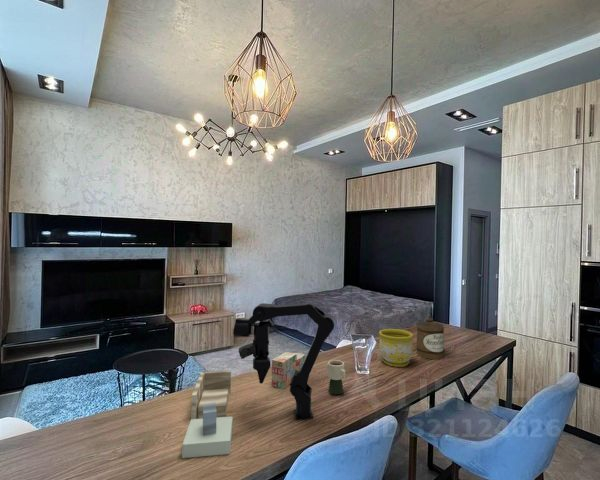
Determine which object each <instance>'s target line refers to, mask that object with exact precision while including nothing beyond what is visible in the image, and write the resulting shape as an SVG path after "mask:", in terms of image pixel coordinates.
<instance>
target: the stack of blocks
mask: <svg viewBox="0 0 600 480" xmlns="http://www.w3.org/2000/svg"><path fill="white" fill-rule="evenodd" d="M305 358H306V354H305V353H304V354H303V353H299V352H294V353H293V352H288V351H285V352H283V353H281V354H279V355H278V356H276V357H275V358H273V359H271V387H273V388H278V389H282V390H284V389H286V388H288V387H289V385H290V381H291V378H292V377H293V375H294V372H295V369H296V370H297V371H299V370H300V369H301V367H302V365H303V363H304V360H305Z"/></svg>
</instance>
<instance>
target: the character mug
mask: <svg viewBox="0 0 600 480" xmlns="http://www.w3.org/2000/svg"><path fill="white" fill-rule="evenodd" d="M326 370H327V376H328V377H327V378H329V385H328V392H329V394H332V395H340V394H343V393H344V386H343V379H345V378H346V370H345V362H344V361H342V360H339V359H331V360H329V361H328V362H327V363H326Z"/></svg>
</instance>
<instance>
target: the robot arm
mask: <svg viewBox="0 0 600 480" xmlns="http://www.w3.org/2000/svg"><path fill="white" fill-rule="evenodd" d="M297 315H298V316H300V315H301V316H302V315H306V316H308V317H309V318H310V319H311V320H312V321H313V322H314V323H315V324H316V325H317V328H316V332H315V336H314V339H313V340H312V343H311V345H310V347H309V348H308V349H309V350H308V352H307V354H306V355H305V360H304V363H303V365H302V367H301V369H300V370H299V371H297V370H296V369H295V372H294V375H293V377H292V378H291V381H290V385H288V387H289V386H290V388H289V392H290V394H291V396H293V398H294V400H295V409H294V410H293V412H294V416H295V419H296V420H298V421H299V420H309V419H311V420H312V419H314V414H313V412H312V391H313V388H312V387H311V386H310V385H309V384H308V383H309V382H308V381H309V378H310V374H311V371H312V369H313V368H314V365H315V363H316V360H317V358H318V357H319V356H318V355H319V353H320V352H321V350H322V347H323V345H324V343H325V341H326V340H327V339H328V337H330V335H331V333H332V332H333V330H334V328H335V318H334V317H333V316H332V315H331V314H329V313H325V312H324V311H323V310H322V309H320V308H319V307H317V306H316V305H315V304H314V303H313V302H311V301H310V302H306V303H294V304H293V303H291V304H281V305H277V304H272V303H259V304H258V305H256V306H255V307H254V309H253V310H252V315H251V316H250V318H248V319H247V318H238V317H237V318H236V319H235V323H234V325H233V326H234V327H233V331H232V333H233V336H234V338H235V337H237V338H250V337H251V335H253V339H252V342H251V343H247V344H245V345H243V346H240V347H239V348H238V353H239V357H240V359H241V360H244V359H246V358H247V357H250V356H252V357H253V359H252V369H253V370H255V371H257V377H258V380H259V381H258V382H259V384H263V383H264V381H265V379H266V377H267V374H268V373H269V370H270V369H271V358H270V357H269V355H270V351H269V349H270V348H269V346H270V341H269V338H270V334H269V333H270V332H269V331H270V327H271V328H272V327H273V326H274V325H275V323H274V322H273V321H272V320H271V319H273V318H277V317H288V316H297Z"/></svg>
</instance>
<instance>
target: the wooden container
mask: <svg viewBox="0 0 600 480" xmlns="http://www.w3.org/2000/svg"><path fill="white" fill-rule="evenodd" d="M426 320H427V321H418V322H417V324H416V355H417V354H418V355H417V356H418V357H420V356H421V358H423V357H424V359H427V358H429V359H428V360H441V359H444V358H445V336H444V335H445V332H444V329H445V327H444V324H443V323H439V322H434V319H433V318H432V317H427V318H426Z"/></svg>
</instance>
